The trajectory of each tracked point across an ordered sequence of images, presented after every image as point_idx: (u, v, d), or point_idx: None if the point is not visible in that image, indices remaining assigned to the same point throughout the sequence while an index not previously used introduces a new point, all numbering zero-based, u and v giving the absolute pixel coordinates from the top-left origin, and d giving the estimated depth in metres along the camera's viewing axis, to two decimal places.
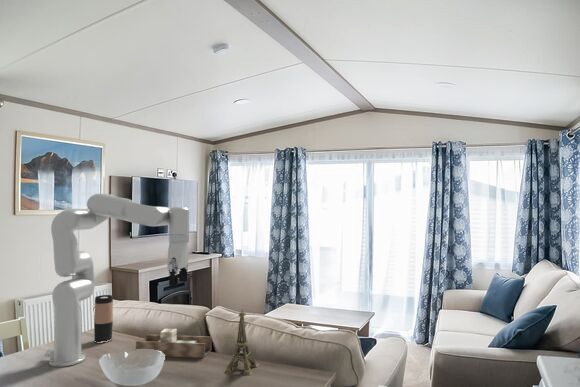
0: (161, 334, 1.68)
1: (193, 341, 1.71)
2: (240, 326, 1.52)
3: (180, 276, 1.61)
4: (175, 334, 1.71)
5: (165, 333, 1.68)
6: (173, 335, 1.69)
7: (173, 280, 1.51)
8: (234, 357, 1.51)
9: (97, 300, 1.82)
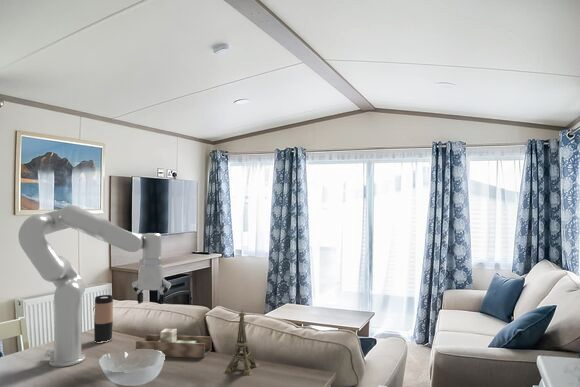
0: (161, 334, 1.68)
1: (193, 341, 1.71)
2: (240, 326, 1.52)
3: (140, 298, 1.71)
4: (175, 334, 1.71)
5: (165, 333, 1.68)
6: (173, 335, 1.69)
7: (164, 298, 1.71)
8: (234, 357, 1.51)
9: (97, 300, 1.82)
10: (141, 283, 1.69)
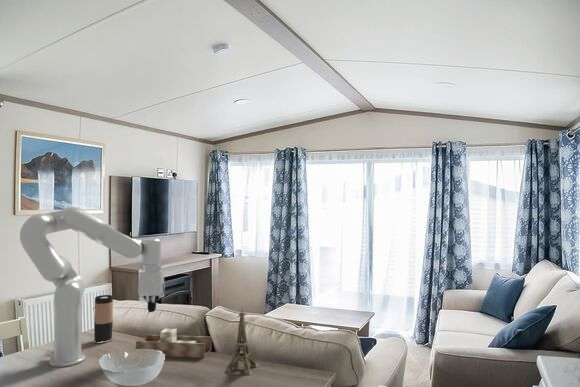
0: (161, 334, 1.68)
1: (193, 341, 1.71)
2: (240, 326, 1.52)
3: (150, 307, 1.71)
4: (175, 334, 1.71)
5: (165, 333, 1.68)
6: (173, 335, 1.69)
7: (155, 306, 1.72)
8: (234, 357, 1.51)
9: (97, 300, 1.82)
10: (141, 289, 1.70)
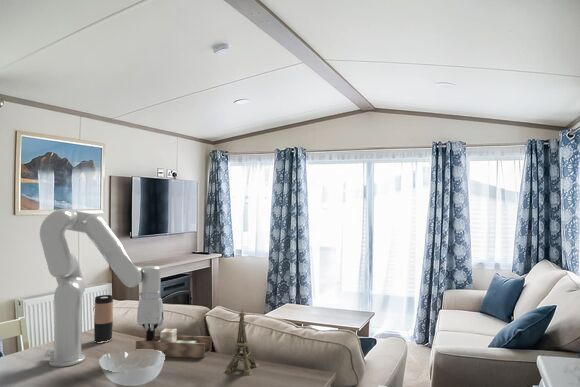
0: (161, 334, 1.68)
1: (193, 341, 1.71)
2: (240, 326, 1.52)
3: None
4: (175, 334, 1.71)
5: (165, 333, 1.68)
6: (173, 335, 1.69)
7: (154, 334, 1.71)
8: (234, 357, 1.51)
9: (97, 300, 1.82)
10: (140, 317, 1.69)
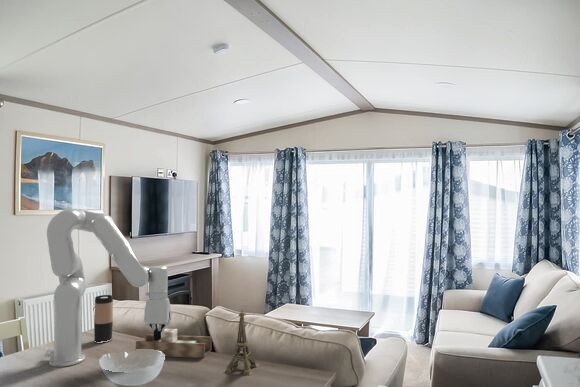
0: (162, 334, 1.68)
1: (193, 341, 1.71)
2: (240, 326, 1.52)
3: (156, 335, 1.70)
4: (176, 334, 1.71)
5: (166, 333, 1.68)
6: (174, 335, 1.69)
7: None
8: (234, 357, 1.51)
9: (97, 300, 1.82)
10: (148, 317, 1.69)
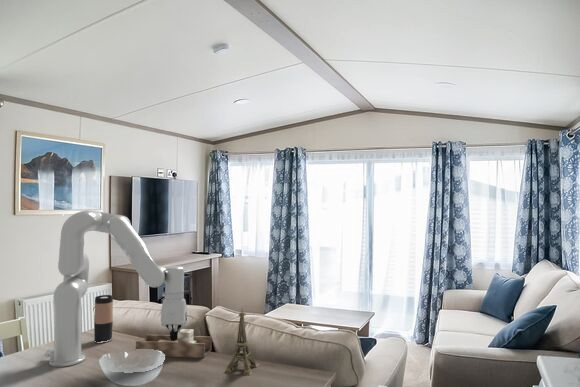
0: (178, 335, 1.67)
1: (193, 341, 1.71)
2: (240, 326, 1.52)
3: None
4: (192, 334, 1.70)
5: (183, 334, 1.67)
6: (190, 336, 1.68)
7: (177, 334, 1.70)
8: (234, 357, 1.51)
9: (97, 300, 1.82)
10: (164, 318, 1.68)
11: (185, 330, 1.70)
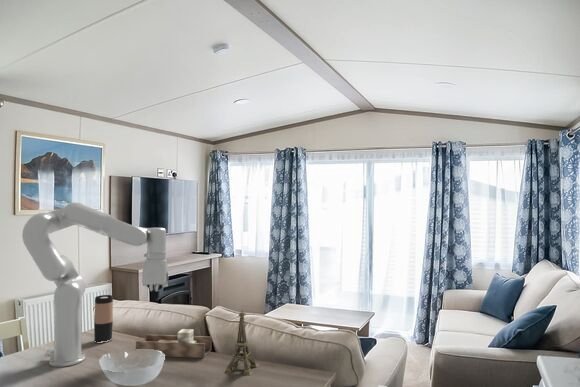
0: (178, 335, 1.67)
1: (193, 341, 1.71)
2: (240, 326, 1.52)
3: None
4: (192, 334, 1.70)
5: (183, 334, 1.67)
6: (190, 335, 1.68)
7: (158, 295, 1.72)
8: (234, 357, 1.51)
9: (97, 300, 1.82)
10: (145, 277, 1.69)
11: (185, 330, 1.70)
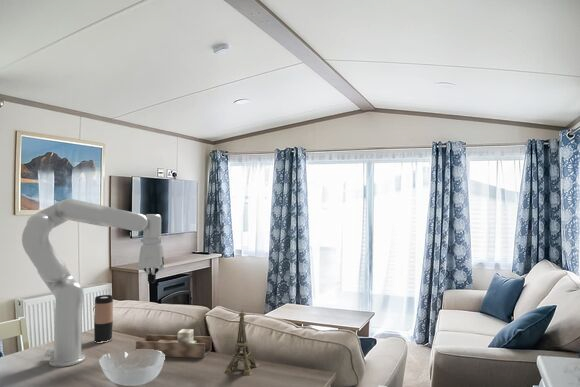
0: (178, 335, 1.67)
1: (193, 341, 1.71)
2: (240, 326, 1.52)
3: None
4: (192, 334, 1.70)
5: (183, 334, 1.67)
6: (190, 335, 1.68)
7: (155, 278, 1.80)
8: (234, 357, 1.51)
9: (97, 300, 1.82)
10: (142, 261, 1.78)
11: (185, 330, 1.70)
